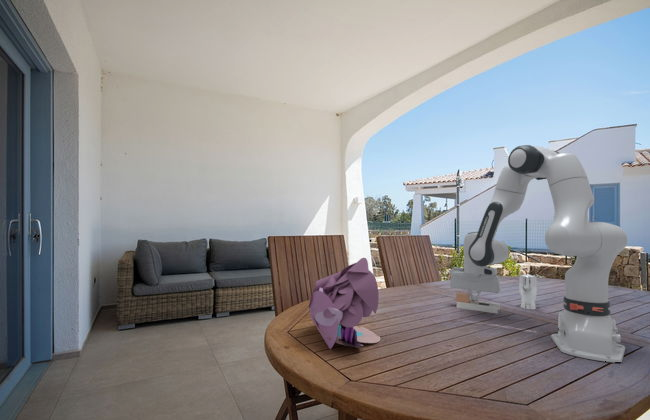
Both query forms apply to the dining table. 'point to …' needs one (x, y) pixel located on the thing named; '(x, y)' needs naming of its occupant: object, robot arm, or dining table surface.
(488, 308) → the chute
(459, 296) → the block
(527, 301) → the beer glass
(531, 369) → the dining table surface
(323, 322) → the flower arrangement
